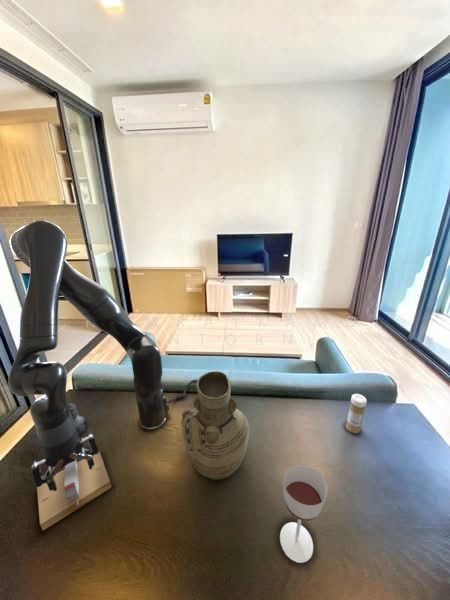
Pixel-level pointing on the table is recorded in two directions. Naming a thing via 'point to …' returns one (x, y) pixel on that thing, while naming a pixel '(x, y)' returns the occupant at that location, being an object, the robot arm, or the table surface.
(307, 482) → the wineglass
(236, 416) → the ceramic vessel
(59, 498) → the base
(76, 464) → the white rectangular block
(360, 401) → the sprinkles bottle
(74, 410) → the grey stone statuette
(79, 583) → the table surface
